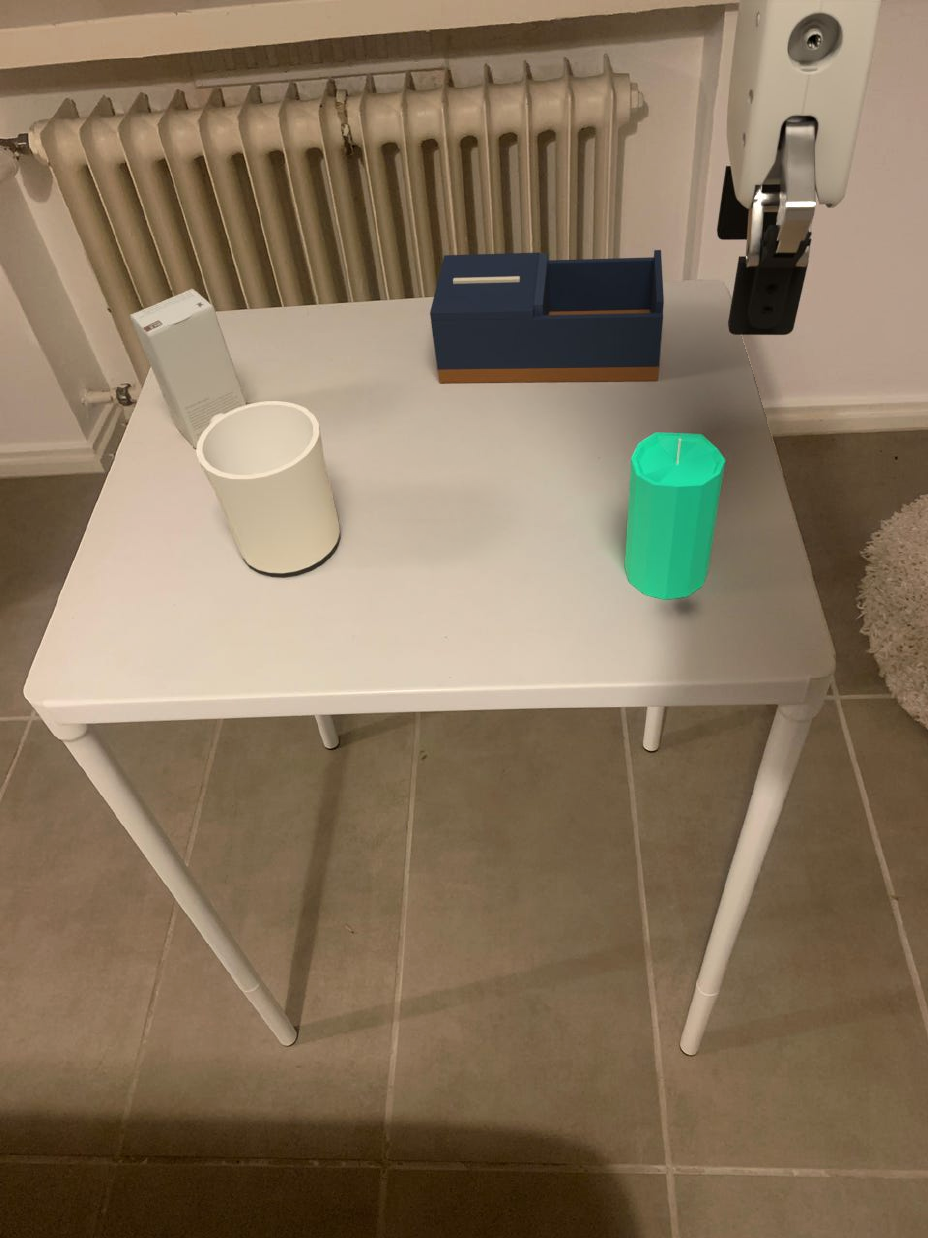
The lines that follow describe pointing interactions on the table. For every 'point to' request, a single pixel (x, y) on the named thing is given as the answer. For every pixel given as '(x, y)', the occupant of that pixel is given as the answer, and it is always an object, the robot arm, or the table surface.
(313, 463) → the mug
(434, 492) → the table surface
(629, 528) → the candle
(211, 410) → the cosmetic box
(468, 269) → the navy slotted box
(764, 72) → the robot arm
